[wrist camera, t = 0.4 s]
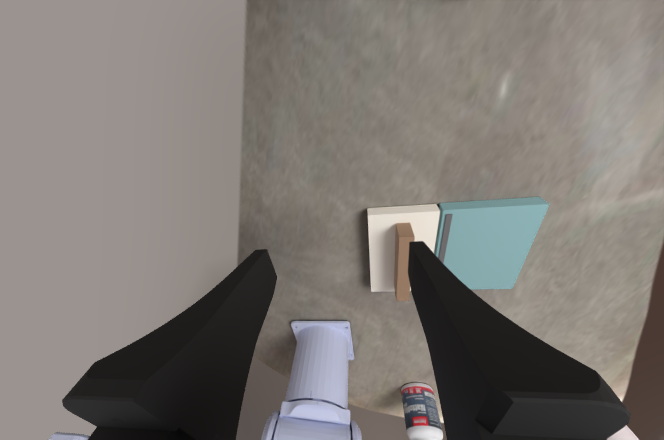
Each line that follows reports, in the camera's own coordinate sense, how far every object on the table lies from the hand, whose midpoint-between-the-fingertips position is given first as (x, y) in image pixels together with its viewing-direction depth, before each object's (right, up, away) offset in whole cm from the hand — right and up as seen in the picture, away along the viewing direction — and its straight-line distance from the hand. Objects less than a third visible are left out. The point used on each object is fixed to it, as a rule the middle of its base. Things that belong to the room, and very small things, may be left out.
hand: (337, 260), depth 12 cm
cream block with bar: (+6, -1, +12) cm, 14 cm away
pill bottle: (+14, -27, +29) cm, 42 cm away
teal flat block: (+14, 0, +11) cm, 18 cm away
